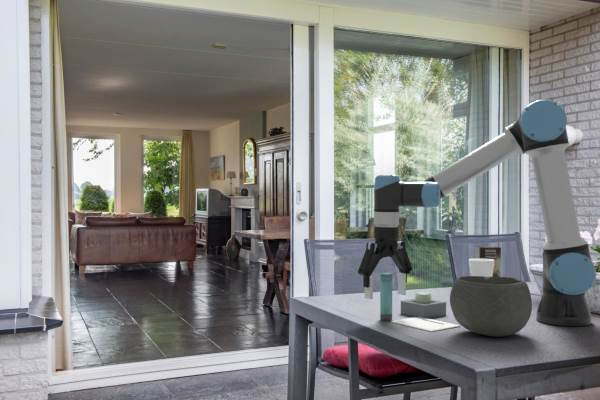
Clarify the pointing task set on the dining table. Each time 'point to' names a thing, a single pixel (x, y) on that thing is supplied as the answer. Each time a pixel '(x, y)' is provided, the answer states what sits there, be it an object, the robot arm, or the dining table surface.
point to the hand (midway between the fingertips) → (385, 296)
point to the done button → (423, 297)
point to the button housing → (423, 308)
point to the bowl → (491, 304)
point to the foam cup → (481, 267)
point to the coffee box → (490, 257)
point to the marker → (386, 296)
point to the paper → (425, 324)
